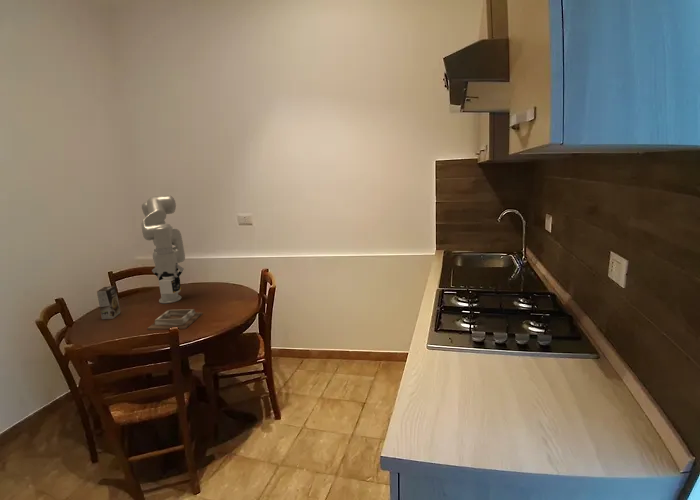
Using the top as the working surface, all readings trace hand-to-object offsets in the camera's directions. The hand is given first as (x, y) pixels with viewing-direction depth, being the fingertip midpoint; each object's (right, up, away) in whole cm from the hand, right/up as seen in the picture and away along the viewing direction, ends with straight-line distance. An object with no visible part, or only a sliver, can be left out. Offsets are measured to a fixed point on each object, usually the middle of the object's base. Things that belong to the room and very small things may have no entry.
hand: (170, 284), depth 222 cm
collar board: (+1, -20, +5) cm, 20 cm away
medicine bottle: (0, -4, +1) cm, 4 cm away
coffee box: (-41, -19, +19) cm, 49 cm away
